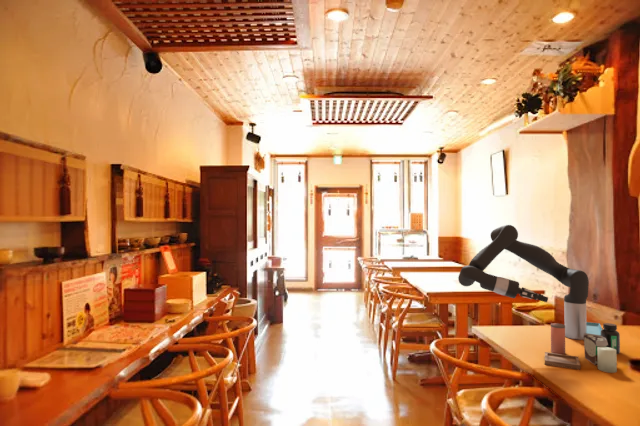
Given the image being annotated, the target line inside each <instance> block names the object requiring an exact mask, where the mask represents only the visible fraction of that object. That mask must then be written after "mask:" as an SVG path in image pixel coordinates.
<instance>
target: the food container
mask: <svg viewBox="0 0 640 426" xmlns="http://www.w3.org/2000/svg"><path fill="white" fill-rule="evenodd" d="M583 338H584V339H583V346H584V347H583V348H584V359H586V360H587V361H589V362H590V363H591V364H593V365H594V366H597V367H598V355H597V347H606V346H607V345H608V342H607V340H606V338H605V337H602V336H599V335H595V334H588V333H584V335H583Z"/></svg>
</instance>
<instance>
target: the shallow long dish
mask: <svg viewBox="0 0 640 426" xmlns="http://www.w3.org/2000/svg"><path fill="white" fill-rule="evenodd" d="M586 326H587V333H588V334H595V335H599V336H601V330H603V326H602V325H601V323H599V322H589V321H586Z"/></svg>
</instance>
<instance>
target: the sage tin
mask: <svg viewBox="0 0 640 426" xmlns="http://www.w3.org/2000/svg"><path fill="white" fill-rule="evenodd" d="M597 355H598V366H597V369H598V370H599V371H601V372H604V373H608V374H609V373H611V374H615V373H617V372H618V370H617V369H618V368H617V367H618V366H617V365H618V364H617V362H618V361H617V354H616V349H613V348H609V347H597Z"/></svg>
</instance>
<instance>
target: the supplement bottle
mask: <svg viewBox="0 0 640 426" xmlns="http://www.w3.org/2000/svg"><path fill="white" fill-rule="evenodd" d="M601 336H602V337H605V338H606V340H607V342H608V345H607V346H606V347H609V348H613V349H616V355H619V354H620V353H621V337H620V336H621V333H620V332H619V331H618V326H617V324H615V323H611V322H610V323H609V322H604V323H603V324H602V330H601Z"/></svg>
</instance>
